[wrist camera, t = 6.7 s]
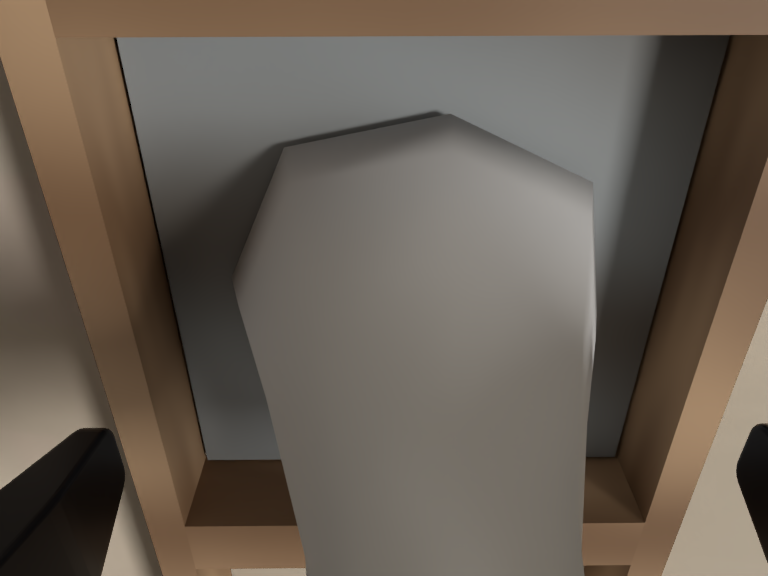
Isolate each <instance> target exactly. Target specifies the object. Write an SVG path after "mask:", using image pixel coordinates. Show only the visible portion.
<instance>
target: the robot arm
mask: <svg viewBox="0 0 768 576" xmlns="http://www.w3.org/2000/svg"><path fill="white" fill-rule="evenodd" d="M736 473H737V479H738V483H739V486H740V488H741V491H742V494H743V497H744V499H745V502H746V505H747V508H748V510H749V513H750V516H751V519H752V521H753V524H754V527H755V530H756V532H757V535H758V538H759V541H760V543H761V546H762V549H763V552H764V554H765V557H766V560H767V562H768V423H765V424H757V425H756V426H755V427H753V428H752V430H751V432H750V434H749V436H748V439H747V441H746V444H745V446H744V448H743V451H742V453H741V455H740V458H739V460H738V463H737V469H736ZM124 482H125V470H124V466H123V463H122V459H121V456H120V453H119V450H118V447H117V444H116V440H115V437H114V435H113V433H112V432H111V430H109V429H106V428H82V429H79V430H77V431H75V432H74V433H72V434H71V435H70V436H68V437H67V438H66V439H65V440H63V441H62V442H61V443H59V444H58V445H57V446H56V447H54V448H53V449H52V450H51V451H49V452H48V453H47V454H45V455H44V456H43V457H42V458H40V459H39V460H38V461H36V462H35V463H34V464H33V465H31V466H30V467H29V468H27V469H26V470H25V471H24V472H22V473H21V474H20V475H18V476H17V477H16V478H15V479H13V480H12V481H11V482H10V483H8V484H7V485H6V486H4V487H3V488H2V489H1V490H0V576H101V574H102V570H103V566H104V562H105V558H106V554H107V550H108V546H109V542H110V539H111V535H112V531H113V527H114V523H115V519H116V515H117V511H118V507H119V503H120V499H121V495H122V491H123V487H124Z"/></svg>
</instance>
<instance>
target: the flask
mask: <svg viewBox="0 0 768 576" xmlns="http://www.w3.org/2000/svg"><path fill="white" fill-rule="evenodd" d="M232 281H233V285H234V290H235V294H236V298H237V302H238V306H239V309H240V313H241V316H242V319H243V323H244V326H245V329H246V333H247V336H248V339H249V343H250V346H251V349H252V353H253V356H254V359H255V363H256V366H257V369H258V373H259V376H260V379H261V383H262V386H263V389H264V393H265V396H266V400H267V404H268V408H269V412H270V416H271V420H272V424H273V428H274V432H275V436H276V440H277V444H278V449H279V453H280V457H281V461H282V465H283V469H284V473H285V477H286V481H287V485H288V489H289V493H290V498H291V502H292V506H293V510H294V514H295V518H296V522H297V526H298V530H299V534H300V538H301V542H302V546H303V551H304V555H305V562H306V574H307V576H585V575H584V567H583V558H582V530H583V507H584V484H585V461H586V438H587V421H588V411H589V401H590V391H591V381H592V371H593V361H594V351H595V341H596V318H597V307H596V272H595V236H594V200H593V182H591V181H589V180H587V179H585V178H583V177H581V176H579V175H577V174H575V173H572V172H570V171H568V170H566V169H564V168H562V167H560V166H558V165H556V164H554V163H552V162H550V161H548V160H546V159H543V158H541V157H539V156H537V155H535V154H533V153H531V152H529V151H527V150H525V149H523V148H521V147H519V146H517V145H514V144H512V143H510V142H508V141H506V140H504V139H502V138H500V137H498V136H496V135H494V134H492V133H490V132H488V131H486V130H483V129H481V128H479V127H477V126H475V125H473V124H471V123H469V122H467V121H465V120H463V119H461V118H459V117H457V116H454V115H452V114H446V115H441V116H436V117H431V118H426V119H421V120H416V121H412V122H407V123H402V124H397V125H392V126H387V127H382V128H377V129H372V130H367V131H362V132H357V133H352V134H347V135H342V136H338V137H333V138H328V139H323V140H318V141H313V142H308V143H303V144H298V145H293V146H288V147H284V149H283V151H282V154H281V156H280V159H279V161H278V164H277V166H276V169H275V171H274V174H273V176H272V179H271V181H270V184H269V186H268V189H267V191H266V194H265V196H264V199H263V201H262V203H261V206H260V208H259V211H258V213H257V216H256V218H255V221H254V223H253V226H252V228H251V231H250V233H249V236H248V238H247V241H246V243H245V246H244V248H243V251H242V253H241V256H240V258H239V261H238V263H237V265H236V268H235V270H234V273H233V275H232Z"/></svg>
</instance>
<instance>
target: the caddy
mask: <svg viewBox="0 0 768 576" xmlns="http://www.w3.org/2000/svg"><path fill="white" fill-rule="evenodd" d="M115 38H117V42H118V47H119V51H120V56H121V61H122V65H123V70H124V75H125V79H126V84H127V89H128V93H129V98H130V102H131V107H132V112H133V116H134V121H135V126H136V130H137V135H138V139H139V144H140V149H141V153H142V158H143V163H144V167H145V172H146V177H147V181H148V186H149V190H150V195H151V200H152V204H153V209H154V214H155V218H156V223H157V227H158V232H159V237H160V241H161V246H162V251H163V255H164V260H165V265H166V269H167V274H168V278H169V283H170V288H171V292H172V297H173V302H174V306H175V311H176V315H177V320H178V325H179V329H180V334H181V339H182V343H183V348H184V352H183V348H182V343H181V339H180V334H179V329H178V325H177V320H176V316H175V311H174V306H173V302H172V297H171V293H170V288H169V283H168V279H167V274H166V269H165V265H164V260H163V256H162V251H161V246H160V242H159V237H158V233H157V228H156V223H155V219H154V214H153V210H152V205H151V200H150V196H149V191H148V187H147V182H146V177H145V173H144V168H143V163H142V159H141V154H140V150H139V145H138V140H137V136H136V131H135V127H134V122H133V117H132V113H131V108H130V104H129V99H128V94H127V90H126V85H125V80H124V76H123V71H122V67H121V62H120V57H119V53H118V48H117V44H116V39H115ZM0 58H1V61H2V64H3V67H4V70H5V74H6V77H7V80H8V83H9V86H10V89H11V93H12V96H13V99H14V102H15V105H16V109H17V112H18V115H19V118H20V121H21V125H22V128H23V131H24V134H25V137H26V140H27V144H28V147H29V150H30V153H31V156H32V160H33V163H34V166H35V169H36V172H37V176H38V179H39V182H40V185H41V188H42V192H43V195H44V198H45V201H46V204H47V207H48V211H49V214H50V217H51V220H52V223H53V227H54V230H55V233H56V236H57V239H58V243H59V246H60V249H61V252H62V255H63V259H64V262H65V265H66V268H67V271H68V274H69V278H70V281H71V284H72V287H73V290H74V294H75V297H76V300H77V303H78V306H79V310H80V313H81V316H82V319H83V322H84V326H85V329H86V332H87V335H88V338H89V341H90V345H91V348H92V351H93V354H94V357H95V361H96V364H97V367H98V370H99V373H100V377H101V380H102V383H103V386H104V389H105V393H106V396H107V399H108V402H109V405H110V408H111V412H112V415H113V418H114V421H115V424H116V428H117V431H118V434H119V437H120V440H121V444H122V447H123V450H124V453H125V456H126V460H127V463H128V466H129V469H130V472H131V475H132V479H133V482H134V485H135V488H136V491H137V495H138V498H139V501H140V504H141V507H142V511H143V514H144V517H145V520H146V523H147V527H148V530H149V533H150V536H151V539H152V542H153V546H154V549H155V552H156V555H157V558H158V562H159V565H160V568H161V571H162V574H163V576H232V574H231V569H243V568H306V562H305V555H304V551H303V546H302V542H301V538H300V534H299V530H298V526H297V522H296V518H295V514H294V510H293V506H292V502H291V498H290V493H289V489H288V485H287V481H286V477H285V473H284V469H283V465H282V461H281V457H280V453H279V449H278V444H277V440H276V436H275V432H274V428H273V424H272V420H271V416H270V412H269V408H268V404H267V400H266V396H265V393H264V389H263V386H262V383H261V379H260V376H259V373H258V369H257V366H256V363H255V359H254V356H253V353H252V349H251V346H250V343H249V339H248V336H247V333H246V329H245V326H244V323H243V319H242V316H241V313H240V309H239V306H238V302H237V298H236V294H235V290H234V285H233V281H232V275H233V273H234V270H235V268H236V265H237V263H238V261H239V258H240V256H241V253H242V251H243V248H244V246H245V243H246V241H247V238H248V236H249V233H250V231H251V228H252V226H253V223H254V221H255V218H256V216H257V213H258V211H259V208H260V206H261V203H262V201H263V199H264V196H265V194H266V191H267V189H268V186H269V184H270V181H271V179H272V176H273V174H274V171H275V169H276V166H277V164H278V161H279V159H280V156H281V154H282V151H283V149H284V147H288V146H293V145H298V144H303V143H308V142H313V141H318V140H323V139H328V138H333V137H338V136H342V135H347V134H352V133H357V132H362V131H367V130H372V129H377V128H382V127H387V126H392V125H397V124H402V123H407V122H412V121H416V120H421V119H426V118H431V117H436V116H441V115H446V114H452V115H454V116H457V117H459V118H461V119H463V120H465V121H467V122H469V123H471V124H473V125H475V126H477V127H479V128H481V129H483V130H486V131H488V132H490V133H492V134H494V135H496V136H498V137H500V138H502V139H504V140H506V141H508V142H510V143H512V144H514V145H517V146H519V147H521V148H523V149H525V150H527V151H529V152H531V153H533V154H535V155H537V156H539V157H541V158H543V159H546V160H548V161H550V162H552V163H554V164H556V165H558V166H560V167H562V168H564V169H566V170H568V171H570V172H572V173H575V174H577V175H579V176H581V177H583V178H585V179H587V180H589V181H591V182H593V200H594V236H595V272H596V307H597V318H596V341H595V351H594V361H593V371H592V381H591V391H590V401H589V411H588V421H587V438H586V461H585V484H584V507H583V530H582V558H583V566H585V567H584V575H585V576H661V575H662V573H663V570H664V567H665V565H666V562H667V560H668V557H669V554H670V552H671V549H672V546H673V544H674V541H675V539H676V536H677V533H678V531H679V528H680V526H681V523H682V520H683V518H684V515H685V513H686V510H687V507H688V505H689V502H690V500H691V497H692V494H693V492H694V489H695V487H696V484H697V481H698V479H699V476H700V474H701V471H702V468H703V466H704V463H705V460H706V458H707V455H708V453H709V450H710V447H711V445H712V442H713V440H714V437H715V434H716V432H717V429H718V427H719V424H720V421H721V419H722V416H723V414H724V411H725V408H726V406H727V403H728V401H729V398H730V395H731V393H732V390H733V387H734V385H735V382H736V380H737V377H738V374H739V372H740V369H741V367H742V364H743V361H744V359H745V356H746V354H747V351H748V348H749V346H750V343H751V341H752V338H753V335H754V333H755V330H756V328H757V325H758V322H759V320H760V317H761V314H762V312H763V309H764V307H765V304H766V301H767V299H768V0H0ZM184 353H185V357H186V362H187V366H188V371H189V376H190V380H191V385H192V389H191V385H190V380H189V376H188V371H187V366H186V362H185V357H184ZM192 390H193V394H194V399H195V403H196V408H197V412H196V408H195V403H194V399H193V394H192ZM197 413H198V417H199V422H200V426H199V422H198V417H197ZM200 427H201V431H202V435H201V431H200ZM202 436H203V440H202ZM203 441H204V445H205V449H204V445H203ZM205 450H206V454H207V457H206V454H205Z"/></svg>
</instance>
